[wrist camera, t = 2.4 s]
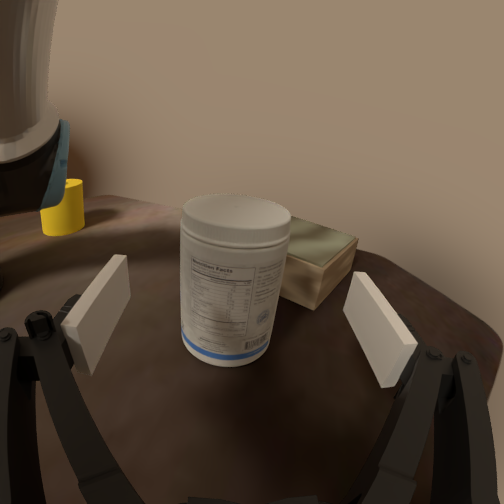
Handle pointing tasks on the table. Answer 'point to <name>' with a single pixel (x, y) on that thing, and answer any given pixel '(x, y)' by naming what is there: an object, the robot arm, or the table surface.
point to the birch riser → (315, 262)
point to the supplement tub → (231, 275)
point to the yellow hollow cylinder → (65, 212)
